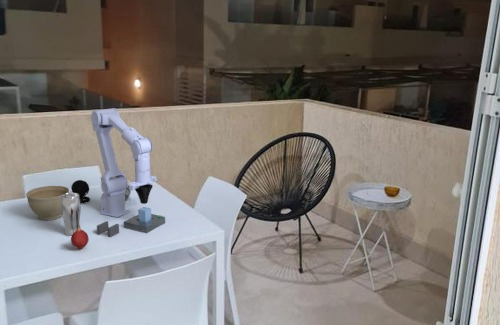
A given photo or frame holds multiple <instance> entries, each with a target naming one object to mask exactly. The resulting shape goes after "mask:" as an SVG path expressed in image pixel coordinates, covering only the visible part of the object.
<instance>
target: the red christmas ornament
mask: <svg viewBox="0 0 500 325" xmlns="http://www.w3.org/2000/svg"><path fill="white" fill-rule="evenodd" d="M80 228H81V227H80ZM80 228H78V229H77V231H75V232H74V233H73V235H72V236H70V242H71V245H72V246H73V247H74V248H76V249H78V250H82V249H83V248H85V247H86V246H87V245H88V243H89V241H90V240H89V235H88V234H87V232H86V231H84V230H83V229H80Z"/></svg>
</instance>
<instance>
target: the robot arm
mask: <svg viewBox="0 0 500 325" xmlns="http://www.w3.org/2000/svg"><path fill="white" fill-rule="evenodd" d="M90 121H91V125H92V129H93V131H94V132H95V134H96V138H97V142H98V147H99V150H100V155H101V160H102V163H103V167H104V171H105V172H104V173H103V174H102V176H101V177H100V185H101V186H100V188H101V191H102V192H103V193H102V194H101V198H100V208H101V211H100V214H101V215H106V216H110V217H115V218H119V217H121V216H124V215H126V214H127V213H130V210H129V209H126V201H125V193H127V192H126V191H127V190H129V191H135V193H137V196H138V199H139V202H140V204H142V205H146V204H147V203H148V202H149V197H150V194H151V191H152V189H153V182H157V175H151V157H150V156H151V155H150V153H151V152H153V148H154V147H153V142H152V140H151V138H150V137H145V136H142V135H141V134H140V133H139V132H138V131H137V130H136V129H135V128H134V127H132V126H131V127H129V125H127V124H126V123H125V122H124V121H123V119H122V118H121V115H120V112H119V110H118V109H117V108H115V107H112V108H106V109H104V108H103V109H94V110H93V111H92V112H91V115H90ZM114 128H115V130H117V131H118V132H120V133H121V138H122V139H123V140H124V141H125V142H126V144H128V146H130V151H131V153H132V157H133V159H134V175H135V176H134V177H135V179H134V181H133V182H131V183H130V184H129V180H128V179H127V177H126V174H125V172H123V171H122V170H120V169H119V167H118V163H117V159H116V155H115V151H114V150H115V149H114V147H113V142H112V138H111V133H110V132H111V131H112V129H114Z"/></svg>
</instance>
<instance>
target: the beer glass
mask: <svg viewBox="0 0 500 325" xmlns="http://www.w3.org/2000/svg"><path fill="white" fill-rule="evenodd" d="M60 197H61V212H62V216H61V217H62V218H63V223H64V233H63V234H64V235H65V236H67V237H72V235H73V233H74V232H75V231H77V229H78V228H80V229H81V223H80V221H81V211H82V210H81V208H82V207H81V204H80V198H79V194H78V193H73V192H69V193H66V194H63V195H61V196H60ZM81 230H82V229H81Z"/></svg>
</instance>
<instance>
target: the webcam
mask: <svg viewBox="0 0 500 325" xmlns="http://www.w3.org/2000/svg"><path fill="white" fill-rule="evenodd" d="M70 188H71V193H78V194H79V198H80V203H83V204H87V203H89V202H90V201H91V198H90V197H89V196H87V195H88V194H89V192H90V186H89V184H88V183H87V181H85V180H82V179H78V180H76V181H73V182H72V184H71V186H70ZM86 202H87V203H86Z"/></svg>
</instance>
